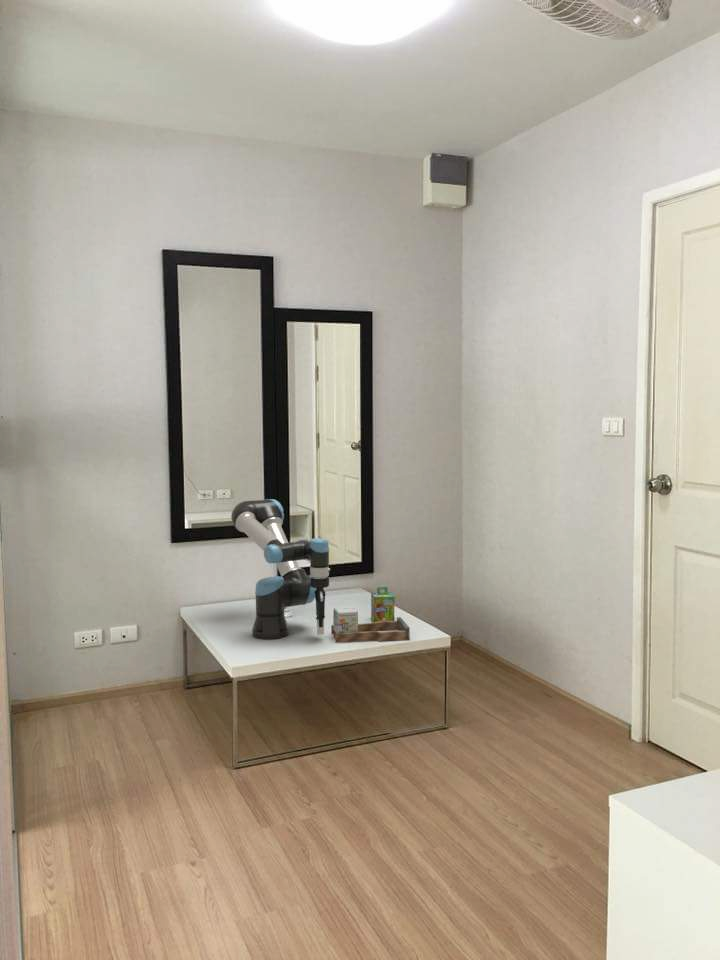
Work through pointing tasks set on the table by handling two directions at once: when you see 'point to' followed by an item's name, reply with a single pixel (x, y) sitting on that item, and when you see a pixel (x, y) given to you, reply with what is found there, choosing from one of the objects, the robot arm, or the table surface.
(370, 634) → the brown low open piece
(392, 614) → the chalk box
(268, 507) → the robot arm
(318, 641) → the table surface
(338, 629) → the ink box
